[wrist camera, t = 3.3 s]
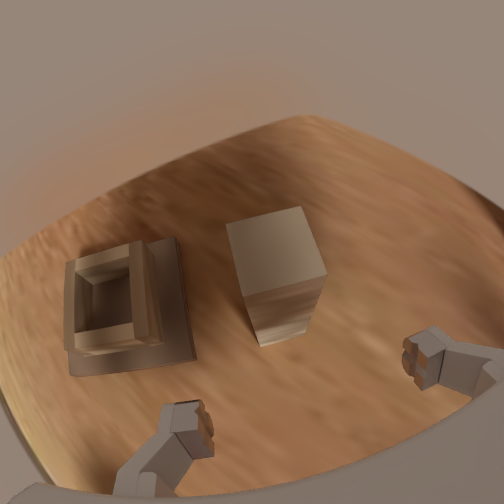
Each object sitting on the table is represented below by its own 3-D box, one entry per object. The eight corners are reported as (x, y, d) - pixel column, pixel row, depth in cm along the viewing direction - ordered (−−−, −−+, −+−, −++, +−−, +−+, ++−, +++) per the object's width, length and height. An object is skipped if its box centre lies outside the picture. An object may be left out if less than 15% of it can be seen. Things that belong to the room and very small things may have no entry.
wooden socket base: (178, 242, 27) (163, 217, 23) (196, 359, 22) (180, 352, 18) (74, 271, 27) (51, 253, 23) (77, 376, 21) (48, 370, 18)
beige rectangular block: (291, 294, 24) (300, 205, 13) (303, 335, 22) (327, 274, 11) (250, 305, 24) (225, 224, 13) (260, 346, 22) (242, 296, 11)
